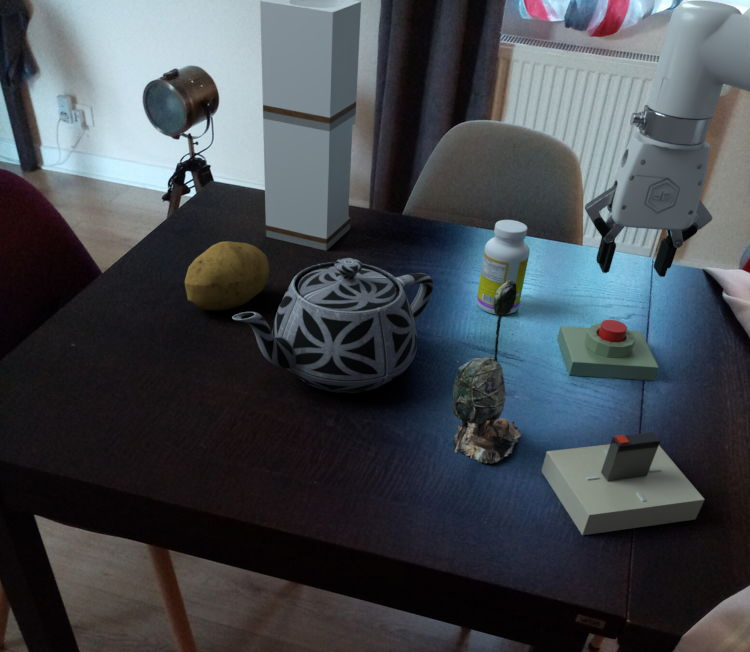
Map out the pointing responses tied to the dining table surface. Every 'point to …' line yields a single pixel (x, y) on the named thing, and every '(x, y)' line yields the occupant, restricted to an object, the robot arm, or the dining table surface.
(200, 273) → the potato
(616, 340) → the cutoff button
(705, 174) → the robot arm
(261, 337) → the teapot
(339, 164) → the banded white pillar
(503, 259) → the supplement bottle
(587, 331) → the cutoff housing
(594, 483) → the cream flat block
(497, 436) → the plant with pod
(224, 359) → the dining table surface
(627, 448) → the dark grey rectangular block
